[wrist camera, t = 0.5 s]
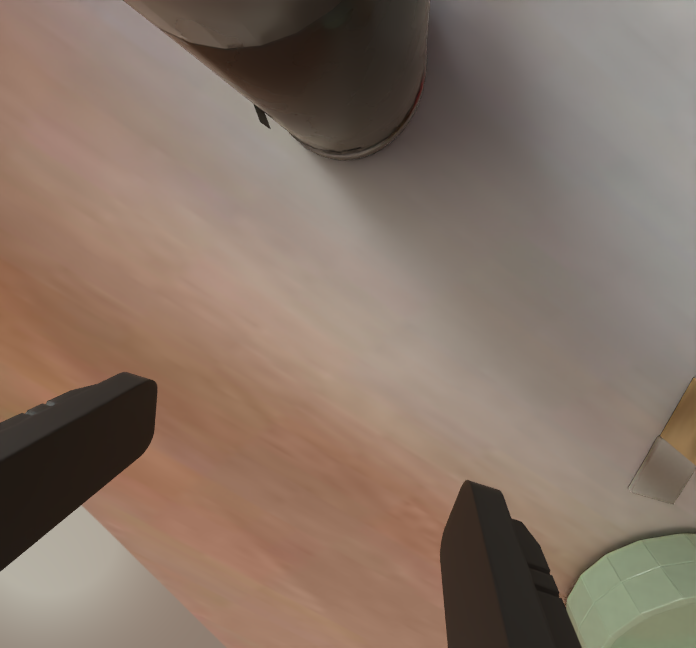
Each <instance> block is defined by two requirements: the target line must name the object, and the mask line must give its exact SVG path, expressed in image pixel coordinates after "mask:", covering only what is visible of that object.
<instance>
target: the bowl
mask: <svg viewBox="0 0 696 648" xmlns="http://www.w3.org/2000/svg"><path fill="white" fill-rule="evenodd" d="M566 610H567V613H568V615H569V618H570V620H571V622H572V625H573V627H574V630H575V632H576V634H577V637H578V639H579V642H580V644H581V647H582V648H696V534H689V533H684V534H683V533H681V534H675V535H668V536H662V537H656V538H649V539H643V540H642V541H641V540H639V541H636V542H634V543H632V544H629V545H627V546H624V547H622V548H620V549H617V550H615V551H612V552H610V553H608V554H606V555H604V556H603V557H602V558H601V559H599V560H598V561H597V562H596V563H595V564H593V565H592V566H591V567H590V568H588V569H587V570H586V571H585V572H584V573H582V574H581V576H580V577H579V579H578V580H577V582H576V584H575V586H574V587H573V589H572V591H571V593H570V594H569V596H568V598H567V604H566Z"/></svg>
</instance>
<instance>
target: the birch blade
mask: <svg viewBox="0 0 696 648" xmlns="http://www.w3.org/2000/svg"><path fill="white" fill-rule="evenodd" d="M660 436H661V437H660ZM660 436H658V437H657V439H656V440H655V442H654V444H653V446H652V447H651V449H650V451H649V453H648V455H647V456H646V458H645V460H644V462H643V463H642V465H641V467H640V469H639V470H638V472H637V474H636V476H635V477H634V479H633V481H632V483H631V484H630V486H629V488H628V489H629V490H630V491H631V492H632V493H636V494H639V495H642V496H646V497H649V498H653V499H656V500H660V501H663V502H666V503H670V504H674V503H675V501H676V499H677V498H678V496H679V495H680V493H681V492H682V490H683V488H684V487H685V485H686V484H687V482H688V480H689V479H690V477H691V476H692V474H693V472H694V471H695V469H696V378H695V377H694V378H693V379H692V381H691V383H690V384H689V386H688V388H687V390H686V391H685V393H684V395H683V397H682V398H681V400H680V402H679V404H678V405H677V407H676V409H675V411H674V412H673V414H672V416H671V418H670V419H669V421H668V423H667V425H666V426H665V428H664V430H663V432H662V433H661V435H660Z"/></svg>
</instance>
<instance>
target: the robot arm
mask: <svg viewBox="0 0 696 648" xmlns="http://www.w3.org/2000/svg"><path fill="white" fill-rule="evenodd" d="M123 1H124V2H126V3H127V4H128V5H129V6H131V7H132V8H133V9H135V10H136V11H137V12H138V13H140V14H141V15H142V16H144V17H145V18H146V19H147V20H149V21H150V22H151V23H152V24H154V25H155V26H156V27H158V28H159V29H160V30H161V31H163V32H164V33H165V34H166V35H168V36H169V37H170V38H171V39H173V40H174V41H175V42H176V43H178V44H179V45H180V46H181V47H183V48H184V49H185V50H186V51H188V52H189V53H190V54H192V55H193V56H194V57H195V58H197V59H198V60H199V61H200V62H202V63H203V64H204V65H205V66H207V67H208V68H209V69H210V70H212V71H213V72H214V73H215V74H217V75H218V76H219V77H220V78H222V79H223V80H224V81H225V82H227V83H228V84H229V85H231V86H232V87H233V88H234V89H236V90H237V91H238V92H239V93H241V94H242V95H243V96H244V97H246V98H247V99H248V100H249V101H251V102H252V103H253V104H254V107H255V109H256V112H257V114H258V117H259V120H260V122H261V123H262V124H264V125H265V126H267V127H268V128H269V129H270V126H269V123H268V121H267V118H266V115H265V113H266V114H267V115H268V116H270V117H271V118H272V119H273V120H275V121H276V122H277V123H278V124H280V125H281V126H282V127H283V128H284V129H286V130H287V131H288V132H289V133H290V134H291V135H292V136H293V137H294V138H295V139H296V140H297V141H298V142H300V143H301V144H302V145H303V146H305V147H306V148H308V149H309V150H311V151H312V152H314V153H316V154H318V155H321V156H323V157H326V158H330V159H336V160H353V159H359V158H363V157H366V156H369V155H371V154H374V153H375V152H377V151H379V150H381V149H382V148H384V147H386V146H387V145H388V144H389V143H391V142H392V141H393V140H394V139H395V138H396V137H397V136H398V135H399V134H400V133H401V132H402V131H403V130H404V128H405V127H406V126H407V124H408V123H409V121H410V120H411V118H412V116H413V115H414V113H415V111H416V109H417V107H418V104H419V101H420V99H421V96H422V92H423V89H424V84H425V78H426V68H427V35H428V22H429V9H430V0H123ZM156 402H157V384H156V382H155V381H153V380H150V379H147V378H144V377H141V376H137V375H134V374H131V373H128V372H122V373H119V374H117V375H115V376H113V377H111V378H109V379H107V380H105V381H103V382H101V383H98V384H95V385H91V386H87V387H83V388H79V389H75V390H71V391H69V392H66V393H64V394H62V395H60V396H58V397H56V398H53V399H51V400H49V401H47V403H46V404H40V405H38V406H36V407H34V408H32V409H29V410H27V412H26V413H25V414H23V413H21V414H19V415H16V416H14V417H12V418H10V419H8V420H6V421H3V422H1V423H0V571H1V570H3V569H4V568H5V567H6V566H8V565H9V564H10V563H11V562H12V561H14V560H15V559H16V558H17V557H19V556H20V555H21V554H22V553H23V552H25V551H26V550H27V549H28V548H29V547H31V546H32V545H33V544H34V543H35V542H37V541H38V540H39V539H40V538H42V537H43V536H44V535H45V534H46V533H48V532H49V531H50V530H51V529H53V528H54V527H55V526H56V525H57V524H58V523H60V522H61V521H62V520H63V519H65V518H66V517H67V516H68V515H70V514H71V513H72V512H73V511H74V510H76V509H77V508H78V507H79V506H81V505H82V504H83V503H84V502H85V501H87V500H88V499H89V498H90V497H91V496H93V495H94V494H95V493H96V492H98V491H99V490H100V489H101V488H102V487H104V486H105V485H106V484H107V483H109V482H110V481H111V480H112V479H113V478H115V477H116V476H117V475H118V474H119V473H121V472H122V471H123V470H124V469H126V468H127V467H128V466H129V465H130V464H132V463H133V462H134V461H135V460H136V459H138V458H139V457H140V456H141V455H142V454H143V453H144V452H145V451H146V449H147V448H148V446H149V444H150V443H151V440H152V438H153V435H154V428H155V415H156ZM440 563H441V574H442V585H443V596H444V607H445V619H446V630H447V641H448V648H582V647H581V644H580V642H579V639H578V637H577V634H576V632H575V630H574V627H573V625H572V622H571V620H570V618H569V615H568V613H567V610H566V608H565V605H564V603H563V601H562V598H559V591H558V588H557V586H556V584H555V581H554V579H553V576H552V575H550V569H549V567H548V564H547V562H546V559H545V557H544V554H543V552H542V550H541V547H540V545H539V544H538V542H537V541H536V540H535V539H534V537H533V536H532V535H531V533H530V532H529V531H528V529H527V528H526V527H525V526H524V524H523V523H522V522H520V521H517V520H514V519H511V516H510V513H509V511H508V508H507V505H506V502H505V499H504V496H503V494H502V492H501V491H500V490H497V489H494V488H491V487H488V486H485V485H481V484H478V483H475V482H472V481H469V480H466V481H465V482H464V483H463V485H462V487H461V489H460V491H459V494H458V496H457V499H456V501H455V504H454V506H453V509H452V511H451V514H450V516H449V519H448V521H447V524H446V526H445V529H444V532H443V536H442V541H441V549H440Z"/></svg>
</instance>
